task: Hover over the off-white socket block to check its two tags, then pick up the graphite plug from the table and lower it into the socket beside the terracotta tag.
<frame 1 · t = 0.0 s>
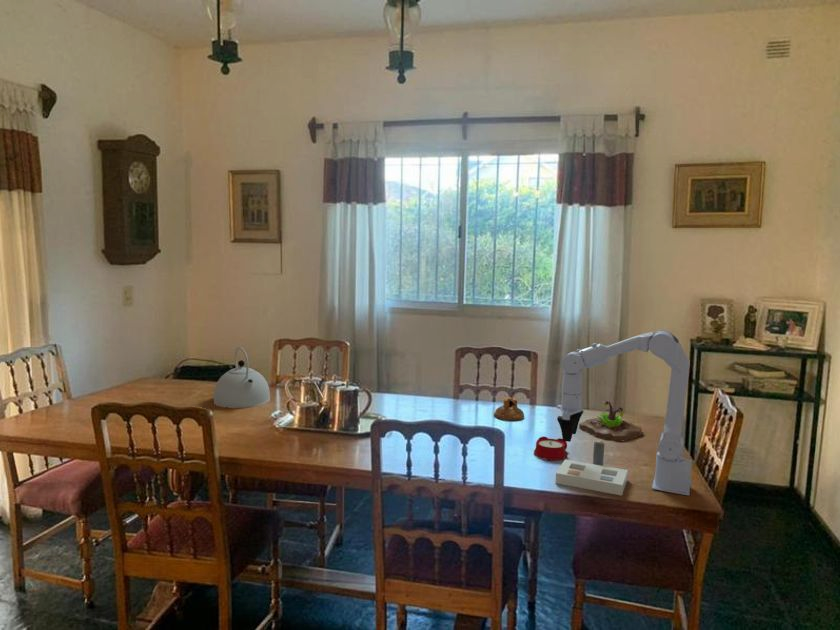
hand: (569, 437, 179), 10 cm above the table, tool pointing down, fingers open, 7 cm apart
plug: (597, 468, 181), on the table
plant: (609, 432, 218), on the table
alarm clock: (550, 454, 195), on the table
kettle: (242, 401, 250), on the table
socket block: (591, 481, 172), on the table
brown pouch: (508, 417, 234), on the table
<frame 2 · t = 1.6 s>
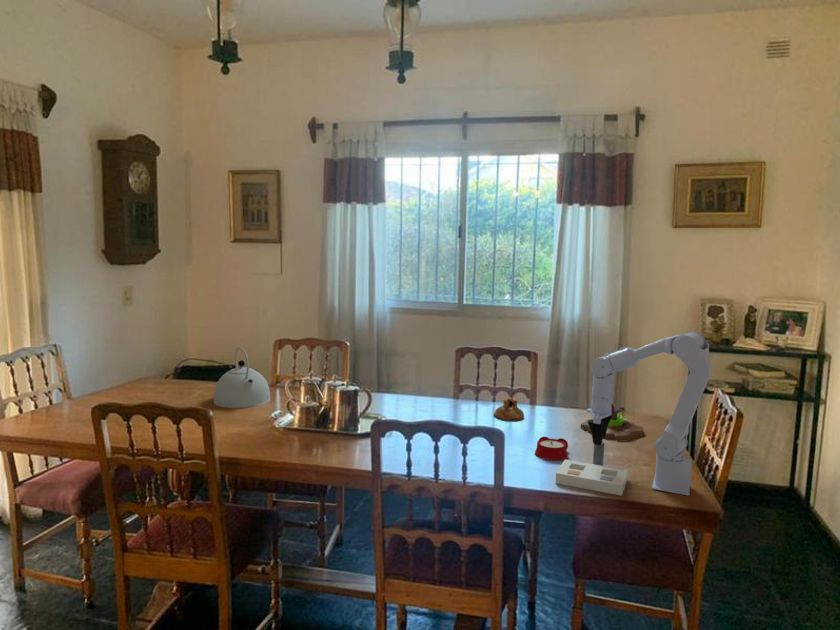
hand: (599, 440, 180), 9 cm above the table, tool pointing down, fingers open, 7 cm apart
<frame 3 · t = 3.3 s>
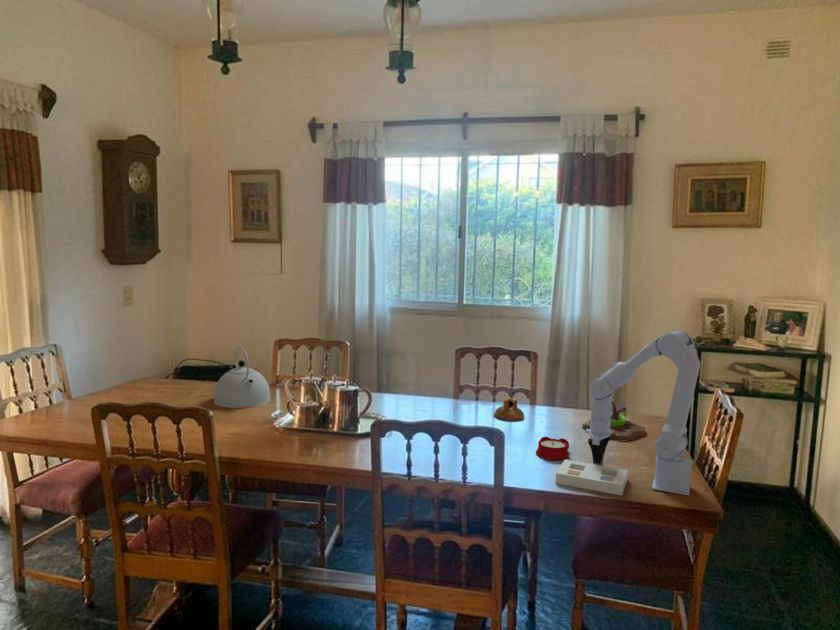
hand: (598, 461, 181), 2 cm above the table, tool pointing down, fingers closed on plug, 3 cm apart
plug: (597, 468, 181), on the table, touching gripper
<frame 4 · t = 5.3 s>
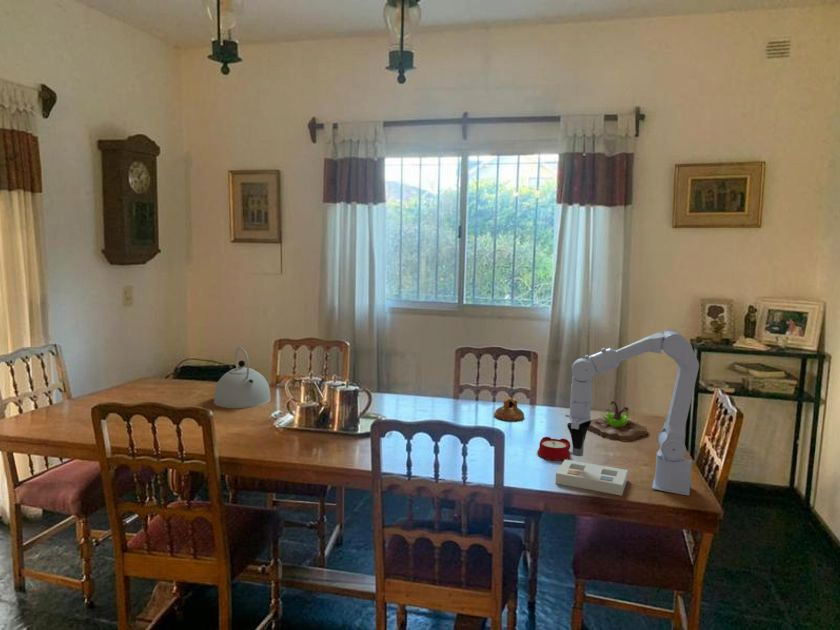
hand: (578, 446, 174), 9 cm above the table, tool pointing down, fingers closed on plug, 3 cm apart
plug: (577, 454, 174), point 7 cm above the table, touching gripper
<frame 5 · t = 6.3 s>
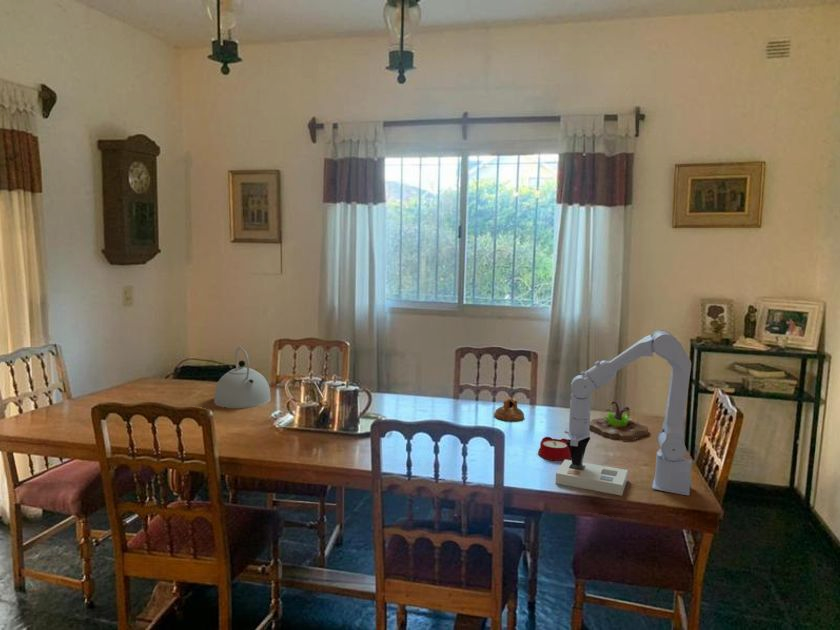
hand: (577, 462, 174), 4 cm above the table, tool pointing down, fingers closed on plug, 3 cm apart
plug: (576, 470, 175), point 2 cm above the table, touching gripper
when the fingers open (4 cm above the table, at t = 7.2 s): plug drops 1 cm, resting on socket block.
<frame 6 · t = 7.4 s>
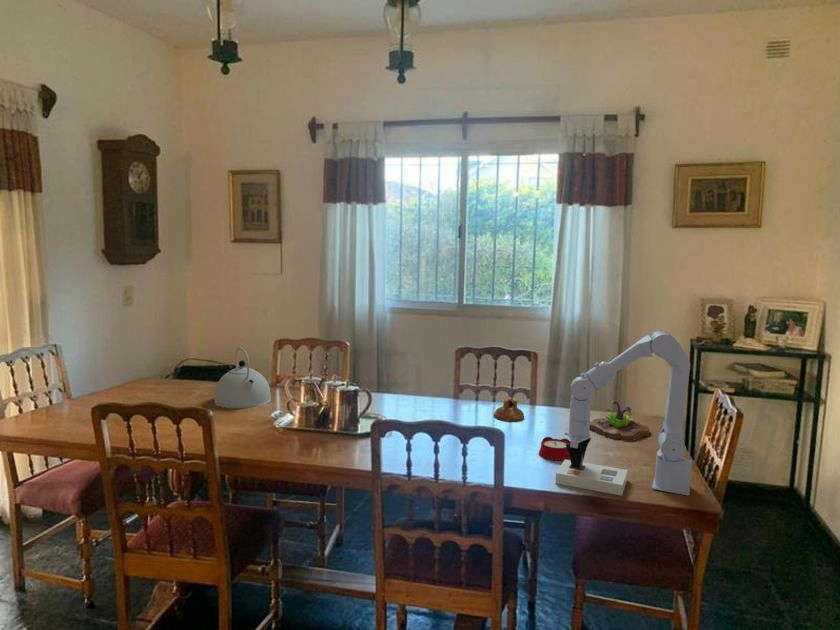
hand: (577, 464, 174), 4 cm above the table, tool pointing down, fingers open, 5 cm apart
plug: (576, 475, 175), resting on socket block
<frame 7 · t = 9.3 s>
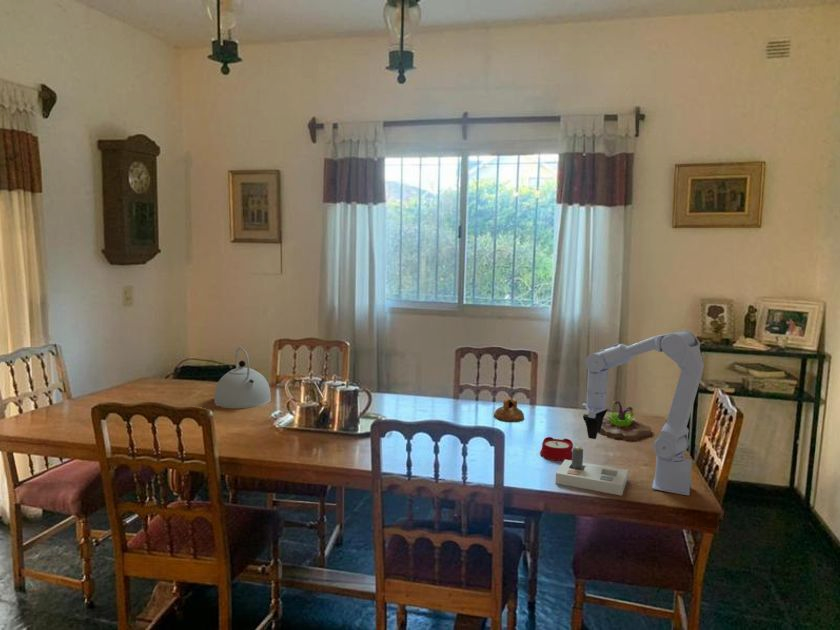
hand: (594, 434, 184), 9 cm above the table, tool pointing down, fingers open, 7 cm apart
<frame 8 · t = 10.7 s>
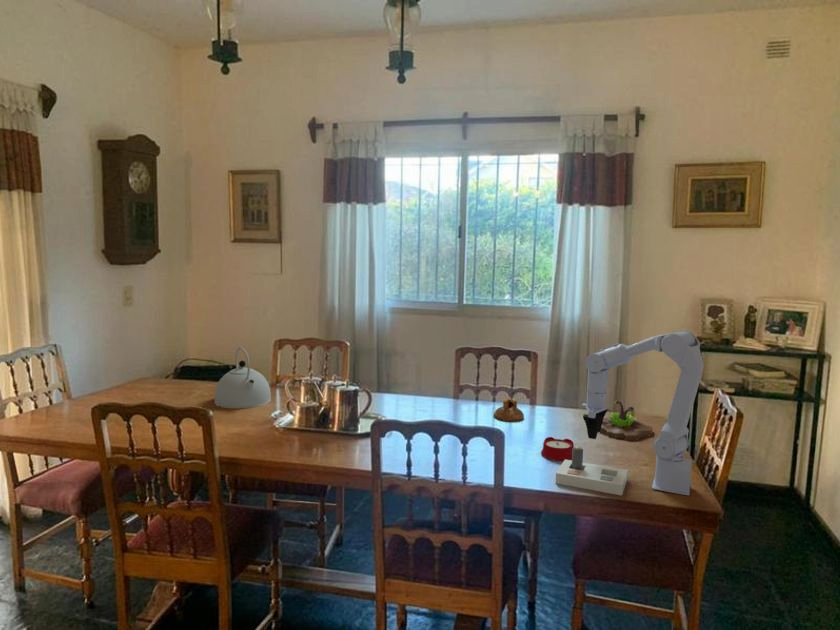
hand: (594, 434, 184), 9 cm above the table, tool pointing down, fingers open, 7 cm apart
at the end: plug 0.0 cm from the target spot on the socket block, point 0.3 cm above the socket block's base; plug tilted 1°; the gripper is holding nothing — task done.
